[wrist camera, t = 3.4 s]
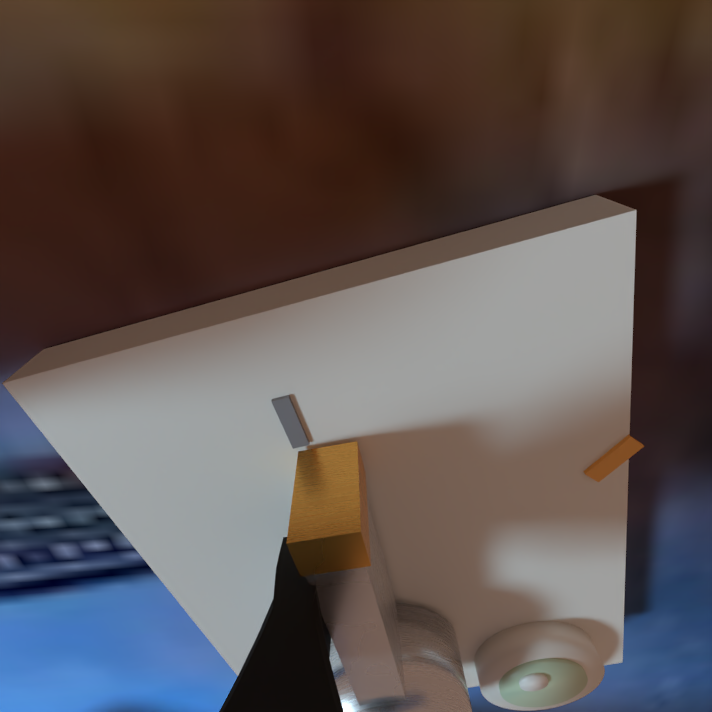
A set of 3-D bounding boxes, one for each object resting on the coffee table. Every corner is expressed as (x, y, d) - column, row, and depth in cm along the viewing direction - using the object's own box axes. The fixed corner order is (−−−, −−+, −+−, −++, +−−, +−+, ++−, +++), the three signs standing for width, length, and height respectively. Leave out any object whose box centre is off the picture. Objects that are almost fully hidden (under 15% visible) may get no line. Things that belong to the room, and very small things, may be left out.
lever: (461, 669, 15) (484, 775, 13) (336, 685, 16) (335, 792, 13) (421, 429, 10) (446, 532, 8) (235, 462, 11) (203, 569, 8)
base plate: (609, 617, 17) (632, 664, 16) (278, 675, 19) (272, 723, 17) (610, 190, 9) (657, 205, 8) (43, 349, 11) (-2, 386, 9)
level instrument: (593, 674, 16) (608, 708, 15) (482, 692, 17) (490, 727, 16) (591, 611, 14) (609, 647, 13) (466, 633, 15) (474, 669, 14)
